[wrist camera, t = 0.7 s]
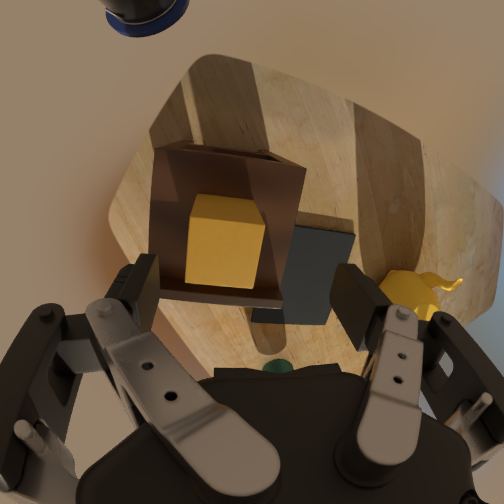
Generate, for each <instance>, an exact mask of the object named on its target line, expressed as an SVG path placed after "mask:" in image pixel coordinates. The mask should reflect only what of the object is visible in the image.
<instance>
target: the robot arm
mask: <svg viewBox="0 0 504 504" xmlns="http://www.w3.org/2000/svg"><path fill="white" fill-rule="evenodd" d="M99 1H100V2H101V3H102V4H104V5H105V6H106V7H107V8H108V9H109V10H110V11H111V12H112V13H111V12H110V11H108V10H106V9H105V10H106V11H107V12H109V13H111V14H113V15H114V16H115V17H116V18H117V19H118V20H119V21H120V22H122V23H123V24H126V25H131V26H140V25H146V24H149V23H152V22H155V21H157V20H159V19H160V18H162V17H163V16H165V15H166V14H167V13H169V12H170V11H171V10H172V8H173V7H174V6H175V4H176V2H177V0H99ZM159 298H160V277H159V258H158V255H157V254H143V253H141V254H140V255H139V257H138V259H137V261H136V263H135V264H128V265H126V266H125V267H123V268H122V269H121V270H120V271H119V273H118V275H117V277H116V278H115V280H114V283H112V285H111V287H110V288H109V290H108V292H107V294H106V295H105V297H104V298H102V299H98V300H96V301H93V302H92V303H90V304H89V305H88V306H87V308H86V311H85V312H86V313H84V314H76V315H67V316H65V312H64V309H63V308H62V306H60V305H58V304H55V303H48V304H44V305H41V306H39V307H37V308H36V309H34V310H33V311H32V313H31V314H30V316H29V317H28V319H27V320H26V322H25V323H24V325H23V326H22V328H21V330H20V331H19V333H18V334H17V336H16V338H15V339H14V341H13V343H12V344H11V346H10V348H9V350H8V351H7V353H6V355H5V356H4V358H3V360H2V362H1V364H0V492H1V493H2V494H4V495H5V496H7V497H8V498H10V499H12V500H13V501H15V502H17V503H19V504H488V503H486V502H484V501H482V500H481V499H480V498H479V497H478V495H477V493H476V491H475V487H474V483H473V477H472V472H473V471H476V470H477V469H478V468H480V467H481V466H482V465H483V464H485V463H486V462H487V461H488V460H490V459H491V458H492V457H493V456H494V455H495V454H497V453H498V452H499V451H500V450H501V449H502V448H503V447H504V377H503V376H502V375H501V373H500V372H499V371H498V369H497V368H496V367H495V365H494V364H493V363H492V362H491V360H490V359H489V358H488V357H487V355H486V354H485V353H484V352H483V350H482V349H481V348H480V347H479V346H478V344H477V343H476V342H475V341H474V339H473V338H472V337H471V336H470V335H469V334H468V333H467V331H466V330H465V329H464V328H463V327H462V326H461V324H460V323H459V322H458V321H457V320H456V319H455V318H454V317H453V316H451V315H450V314H448V313H445V312H442V311H436V312H434V313H433V315H432V317H431V319H430V321H426V320H419V319H418V316H417V314H416V313H415V312H414V311H413V310H412V309H410V308H408V307H406V306H404V305H400V304H393V303H392V302H391V300H390V299H389V298H388V297H387V296H386V295H385V294H384V292H382V290H381V289H380V288H379V287H377V284H376V283H375V282H374V281H373V280H372V279H371V278H369V277H367V276H366V275H364V274H363V272H362V271H361V270H360V269H359V268H358V267H357V266H356V265H355V264H346V263H339V264H338V265H337V268H336V271H335V275H334V279H333V283H332V286H331V290H330V295H329V301H330V305H331V307H332V309H333V310H334V312H335V314H336V315H337V317H338V319H339V321H340V322H341V324H342V326H343V328H344V329H345V331H346V333H347V335H348V336H349V338H350V340H351V342H352V344H353V345H354V347H355V349H356V351H357V352H361V351H369V353H368V356H367V358H366V360H365V363H364V366H363V369H362V372H361V375H360V376H358V375H355V374H352V373H347V372H342V371H341V369H340V367H339V365H338V363H334V364H324V365H311V366H307V367H304V368H300V369H296V370H293V371H289V372H285V373H273V372H267V371H261V370H255V369H249V368H214V377H211V378H207V379H203V380H200V381H197V382H196V381H195V379H194V378H193V377H192V376H191V375H190V374H189V373H188V372H187V371H186V370H185V369H184V367H183V366H182V365H181V364H180V363H179V362H178V361H177V360H176V359H175V357H173V355H172V354H171V353H170V352H169V351H168V349H167V348H166V347H165V346H164V345H163V343H162V342H161V341H160V340H159V339H158V337H157V336H156V335H155V334H154V333H153V332H152V331H151V328H152V324H153V320H154V316H155V313H156V309H157V306H158V302H159ZM445 351H446V353H447V354H448V355H449V357H450V358H451V359H452V361H453V365H454V367H453V371H452V373H451V375H450V376H449V378H448V377H447V375H446V374H445V372H444V371H443V369H442V368H441V366H440V365H439V361H440V360H441V358H442V356H443V354H444V353H445ZM96 371H103V372H104V374H105V376H106V378H107V379H108V381H109V383H110V385H111V387H112V389H113V390H114V392H115V394H116V396H117V397H118V399H119V401H120V402H121V404H122V406H123V407H124V409H125V411H126V413H127V415H128V417H129V419H130V421H131V422H132V424H133V426H134V427H135V429H136V430H135V431H134V432H133V433H131V434H130V435H129V436H128V437H126V438H125V439H124V440H123V441H122V442H120V443H119V444H118V445H117V446H115V447H114V448H113V449H112V450H110V451H109V452H108V453H107V454H106V455H104V456H103V457H102V458H101V459H100V460H98V461H97V462H96V463H94V464H93V465H91V467H89V468H88V469H87V470H86V471H85V472H84V474H83V475H82V476H81V478H80V479H78V478H77V476H76V475H75V462H74V458H73V455H72V454H71V452H70V451H69V450H68V449H67V448H66V446H65V445H64V443H65V438H66V434H67V430H68V426H69V422H70V418H71V414H72V410H73V406H74V403H75V399H76V396H77V392H78V389H79V386H80V382H81V379H82V376H83V373H87V372H96ZM420 389H421V391H422V393H423V395H424V396H425V398H426V400H427V402H428V404H429V405H430V407H431V409H432V411H433V413H434V415H435V417H436V419H437V420H436V419H434V418H432V417H430V416H429V415H427V414H425V413H423V412H422V410H421V408H420V407H419V406H418V402H419V394H420Z"/></svg>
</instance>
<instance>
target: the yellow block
mask: <svg viewBox="0 0 504 504" xmlns="http://www.w3.org/2000/svg"><path fill="white" fill-rule="evenodd" d="M264 230H265V223H264V221H263V219H262V217H261V215H260V213H259V211H258V209H257V206H256V204H255V202H254V200H248V199H240V198H232V197H224V196H215V195H207V194H197V196H196V199H195V202H194V205H193V208H192V211H191V215H190V220H189V231H188V243H187V256H186V270H185V282H186V283H195V284H205V285H215V286H226V287H237V288H249V289H253V287H254V282H255V277H256V271H257V266H258V261H259V256H260V251H261V245H262V240H263V235H264Z"/></svg>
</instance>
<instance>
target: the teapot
mask: <svg viewBox="0 0 504 504" xmlns="http://www.w3.org/2000/svg"><path fill="white" fill-rule="evenodd" d="M461 281H462V279H458V280H455V281H447V280H445V279H443V278H442V277H440V276H439V275H437V274H435V273H432V272H426V273H422V274H420V275H419V274H417V273H415V272H412V271H407V270H399V271H396V270H391V271H389V272H388V274H387V276H386V278H385V279H384V280H383V281H382V283H381V284H380V285H379V286H378V287H379V288H380V289H381V290H382V292H384V294H385V295H386V296H387V297H388V298H389V299H390V300H391V302H392V303H393V304H400V305H404V306H406V307H408V308H410V309H412V310H413V311H414V312H415V313H416V314H417V316H418V319H419V320H426V321H430V319H431V317H432V315H433V313H434V312H436V311H440V307H439V304H438V301H437V298H436V296H435V294H434V292H433V290H432V288H433V287H435V286H439V287H441V288H443V289H445V290H452V289H454V288H456V287H457V286H458V285H459V284H460V283H461Z"/></svg>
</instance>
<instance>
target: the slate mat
mask: <svg viewBox="0 0 504 504" xmlns="http://www.w3.org/2000/svg"><path fill="white" fill-rule="evenodd" d="M355 236H356V235H355V234H352V233H345V232H339V231H332V230H326V229H319V228H312V227H305V226H298V225H294V229H293V234H292V238H291V242H290V247H289V251H288V255H287V259H286V264H285V268H284V272H283V276H282V280H281V284H280V288H279V289H280V291H281V294H282V297H283V299H284V301H283V305H282V308H281V309H273V308H258V307H254V308H253V313H252V318H251V322H255V323H273V324H298V325H325V324H326V322H327V319H328V316H329V314H330V311H331V308H332V307H331V305H330V301H329V295H330V290H331V286H332V283H333V279H334V275H335V271H336V268H337V265H338V264H339V263H346V264H347V262H348V259H349V256H350V253H351V249H352V246H353V243H354V240H355Z"/></svg>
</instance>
